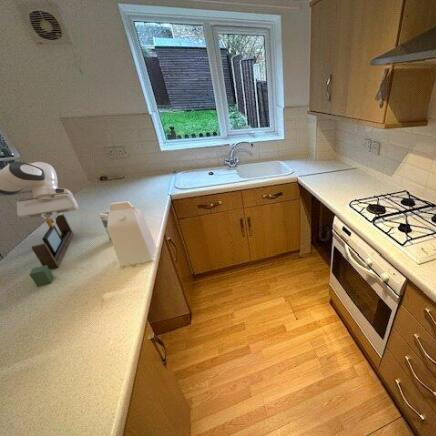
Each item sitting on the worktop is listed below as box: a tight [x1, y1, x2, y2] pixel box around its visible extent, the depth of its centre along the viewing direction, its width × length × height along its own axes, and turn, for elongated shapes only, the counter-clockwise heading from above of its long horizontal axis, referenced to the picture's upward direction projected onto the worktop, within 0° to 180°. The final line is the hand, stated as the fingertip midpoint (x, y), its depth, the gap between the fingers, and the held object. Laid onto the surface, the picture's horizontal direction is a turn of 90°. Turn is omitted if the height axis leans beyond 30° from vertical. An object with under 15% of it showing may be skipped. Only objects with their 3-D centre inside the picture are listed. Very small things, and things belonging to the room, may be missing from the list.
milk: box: [107, 200, 157, 268], centre depth 100 cm, size 12×12×26 cm
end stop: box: [28, 265, 55, 287], centre depth 91 cm, size 4×4×6 cm
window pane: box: [41, 217, 63, 256], centre depth 105 cm, size 13×1×13 cm, turn 30°
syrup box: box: [99, 209, 112, 242], centre depth 116 cm, size 6×6×14 cm
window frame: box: [31, 213, 75, 271], centre depth 108 cm, size 31×4×12 cm, turn 30°
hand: (50, 222), depth 108 cm, fingers closed, pressing on window pane
